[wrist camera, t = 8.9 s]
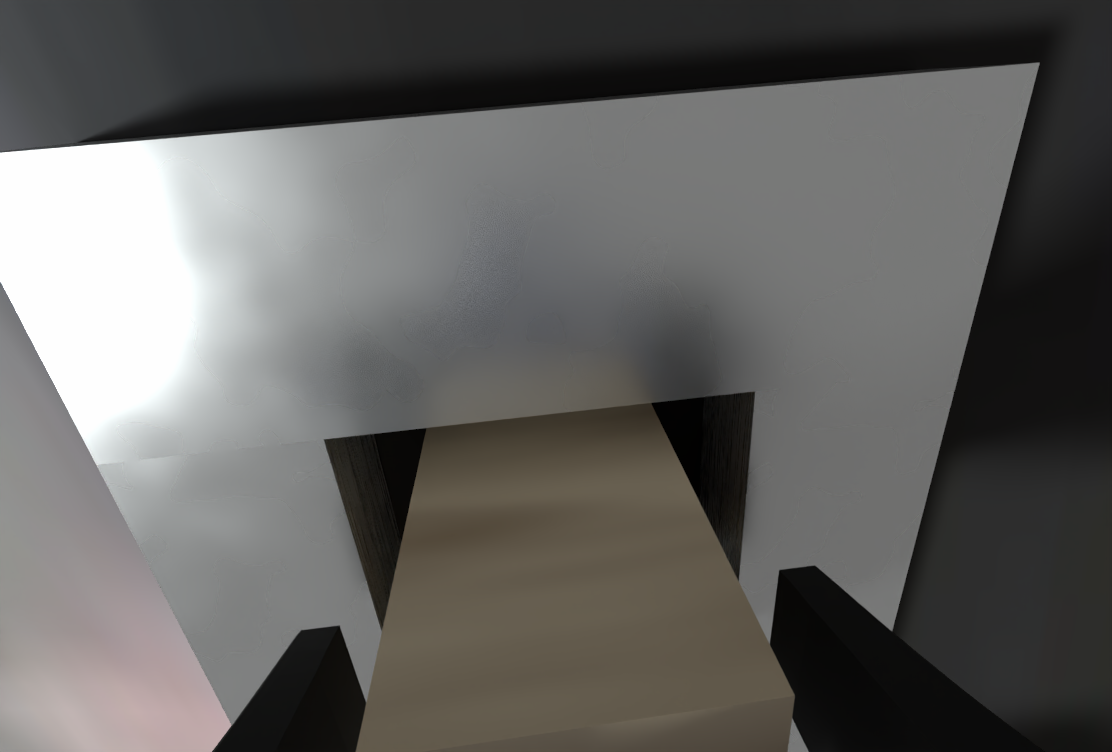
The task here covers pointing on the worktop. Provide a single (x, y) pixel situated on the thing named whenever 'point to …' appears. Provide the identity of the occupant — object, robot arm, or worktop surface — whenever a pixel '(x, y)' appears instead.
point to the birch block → (567, 601)
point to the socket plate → (512, 322)
